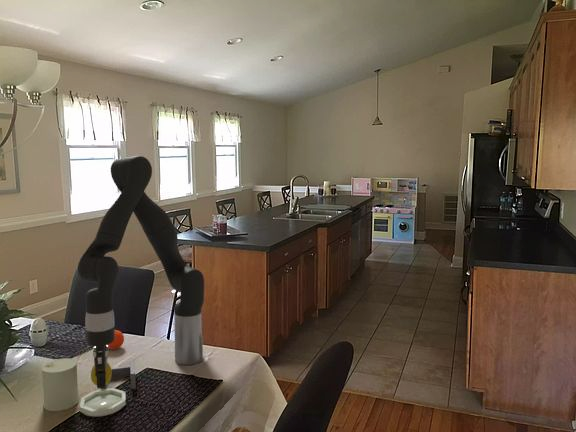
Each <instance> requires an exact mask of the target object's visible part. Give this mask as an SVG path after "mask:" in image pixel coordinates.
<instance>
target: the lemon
mask: <svg viewBox="0 0 576 432" xmlns="http://www.w3.org/2000/svg"><path fill="white" fill-rule="evenodd" d="M111 368H112V367H111V365H110V363H108V362H107V366H106V375H105V378H106V384H107V385H108V384H109V383H110V381H111V379H112V378H111V376H112V370H111ZM98 371H103V369H99V370H98ZM95 374H96V373H95V367H94V365H93V366H92V368H91V371H90V378H91V382H92V383H93V385H95V386H96V387H97V377H96V375H95Z"/></svg>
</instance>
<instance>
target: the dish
mask: <svg viewBox="0 0 576 432" xmlns="http://www.w3.org/2000/svg"><path fill="white" fill-rule="evenodd" d="M125 406H126V391H125V390H124V391H123V390H120V389H117V388H114V387H113V388H112V387H111V388H110V387H109V388H106V389H102V390H101V389H97V390H93V391H91V392H90V393H88V394H86V395H85V396H83V397H81V398H80V404H79V412H80V413H82V414H83V415H85V416H87V417H93V418H96V417H100V418H101V417H105V416H109V415H112V414H115V413H117V412H118V411H120V410H121V409H123V408H124V407H125Z"/></svg>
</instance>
